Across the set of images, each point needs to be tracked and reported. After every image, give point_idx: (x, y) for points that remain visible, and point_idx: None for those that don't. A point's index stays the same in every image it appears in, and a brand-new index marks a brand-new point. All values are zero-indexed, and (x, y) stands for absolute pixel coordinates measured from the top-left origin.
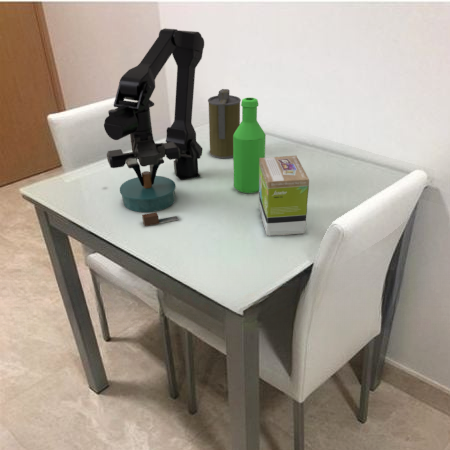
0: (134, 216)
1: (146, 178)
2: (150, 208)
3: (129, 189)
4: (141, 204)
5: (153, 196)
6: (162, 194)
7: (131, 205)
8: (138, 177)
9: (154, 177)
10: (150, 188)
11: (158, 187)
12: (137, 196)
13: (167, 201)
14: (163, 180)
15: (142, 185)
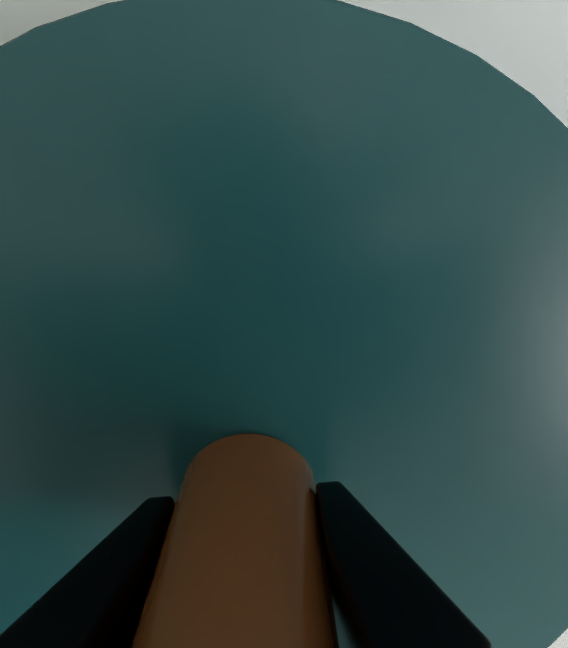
0: (482, 40)
1: (247, 575)
2: None
3: (523, 469)
4: None
5: (190, 69)
6: (8, 111)
7: None
8: (463, 617)
9: (54, 597)
10: (213, 419)
11: (83, 419)
12: (478, 171)
13: None
14: (8, 613)
15: (335, 486)
